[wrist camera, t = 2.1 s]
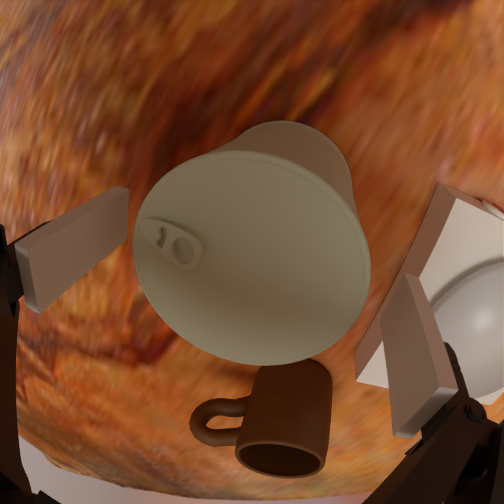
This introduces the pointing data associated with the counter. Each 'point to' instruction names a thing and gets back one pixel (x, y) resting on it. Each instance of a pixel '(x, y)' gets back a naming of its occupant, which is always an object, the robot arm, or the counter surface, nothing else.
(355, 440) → the counter surface
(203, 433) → the mug
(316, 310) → the can
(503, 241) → the scale
